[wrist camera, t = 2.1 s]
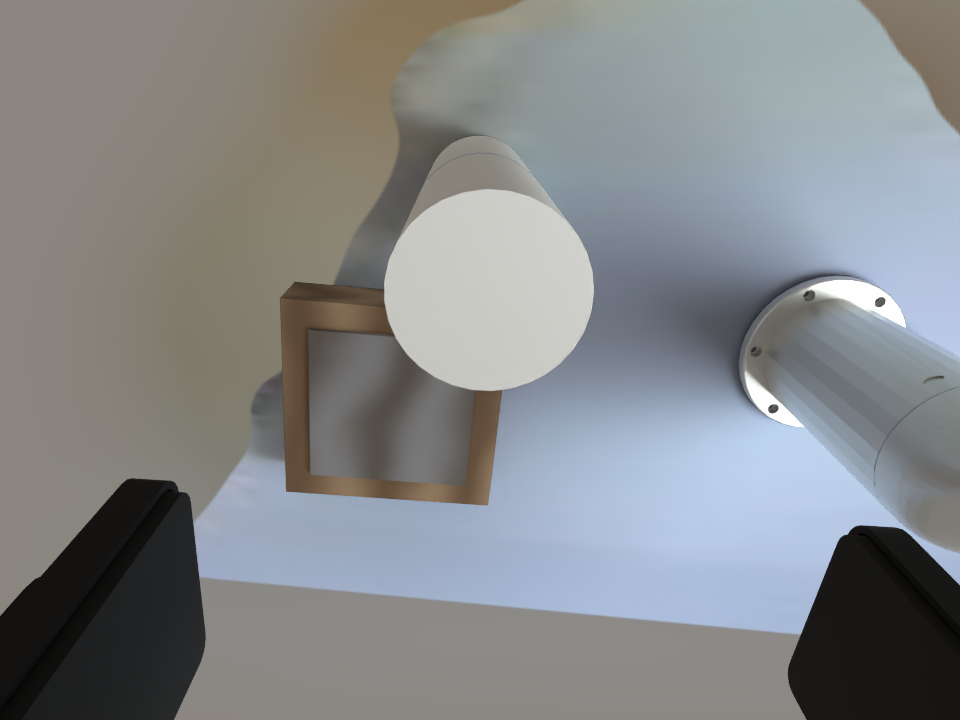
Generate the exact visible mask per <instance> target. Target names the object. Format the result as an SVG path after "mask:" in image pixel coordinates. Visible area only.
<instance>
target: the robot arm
mask: <svg viewBox="0 0 960 720" xmlns="http://www.w3.org/2000/svg"><path fill="white" fill-rule="evenodd" d="M805 292H806V293H805ZM753 347H754V348H753ZM752 348H753V349H752ZM751 349H752V350H751ZM739 374H740V379H741V383H742V386H743V389H744V391H745V392H746V394H747V396H748V397H749V399H750V400H751V401H752V403H753V404H754V405H755V406H756V407H757V408H758V409H759V410H760V411H761V412H762V413H763V414H765V415H766V416H767V417H769V418H771V419H773V420H775V421H777V422H779V423H782V424H785V425H789V426H793V427H805V428H806V429H807V430H808V431H809V432H810V433H811V434H812V435H813V436H814V437H815V438H816V439H817V440H818V441H819V442H820V443H821V444H822V445H823V446H824V447H825V448H826V449H827V450H828V451H829V452H830V453H831V454H832V455H833V456H834V457H835V458H836V459H837V460H838V461H839V462H840V463H841V464H842V465H843V466H844V467H845V468H846V469H847V470H848V471H849V472H850V473H851V474H852V475H853V476H854V477H855V478H856V479H857V480H858V481H859V482H860V483H861V484H862V485H863V486H864V487H865V488H866V489H867V490H868V491H869V492H870V493H871V494H872V495H873V496H874V497H875V498H876V499H877V501H878V502H879V503H880V504H881V505H882V506H883V507H884V508H885V509H887V510H888V511H889V512H890V513H891V514H892V515H893V516H894V517H895V518H896V519H897V520H898V521H899V522H900V523H901V524H902V525H903V526H905V527H906V528H907V529H908V530H909V531H911V532H912V533H914V534H915V535H917V536H918V537H920V538H922V539H923V540H925V541H927V542H929V543H931V544H934V545H936V546H938V547H941V548H943V549H946V550H949V551H952V552H956V553H960V357H959V356H957V355H956V354H954V353H952V352H950V351H948V350H946V349H944V348H943V347H941V346H939V345H937V344H935V343H933V342H932V341H930V340H928V339H926V338H924V337H922V336H921V335H919V334H917V333H915V332H913V331H911V330H910V329H908V328H906V324H905V319H904V316H903V314H902V312H901V310H900V308H899V306H898V305H897V303H896V302H895V301H894V300H893V298H892V297H891V296H890V295H889V294H887V293H886V292H885V291H883V290H882V289H881V288H879V287H877V286H875V285H873V284H871V283H869V282H867V281H864V280H861V279H858V278H854V277H848V276H827V277H819V278H816V279H812V280H808V281H805V282H803V283H800V284H798V285H796V286H794V287H792V288H790V289H788V290H786V291H785V292H783V293H782V294H780V295H779V296H777V297H776V298H775V299H774V300H772V301H771V302H770V303H769V304H768V305H767V306H766V307H765V308H764V309H763V310H762V311H761V312H760V314H759V315H758V316H757V317H756V319H755V320H754V321H753V322H752V324H751V326H750V328H749V330H748V332H747V333H746V335H745V338H744V341H743V344H742V347H741V350H740V357H739ZM204 648H205V625H204V617H203V607H202V598H201V590H200V581H199V572H198V563H197V554H196V545H195V536H194V527H193V518H192V509H191V501H190V497H189V495H188V494H187V493H183V492H179V491H178V487H177V485H176V484H175V483H174V482H172V481H164V480H148V479H133V478H131V479H128V480H126V481H125V482H124V483H122V484H121V486H120V487H119V488H118V489H117V490H116V491H115V492H114V493H113V495H112V496H111V497H110V498H109V499H108V500H107V501H106V503H105V504H104V505H103V506H102V507H101V508H100V509H99V511H98V512H97V513H96V514H95V515H94V516H93V518H92V519H91V520H90V521H89V522H88V523H87V524H86V525H85V527H84V528H83V529H82V530H81V531H80V532H79V534H78V535H77V536H76V537H75V538H74V539H73V540H72V541H71V543H70V544H69V545H68V546H67V547H66V549H65V550H64V551H63V552H62V553H61V554H60V555H59V556H58V557H57V559H56V560H55V561H54V562H53V563H52V565H50V567H49V568H48V569H47V570H46V571H45V572H44V573H43V575H42V576H41V577H39V578H37V579H35V580H34V581H32V582H31V583H30V584H29V585H28V586H27V587H26V588H25V589H24V590H23V591H22V592H21V593H20V594H19V596H18V597H17V598H16V599H15V600H14V601H13V602H12V603H11V604H10V606H9V607H8V608H7V609H6V610H5V611H4V612H3V614H2V615H1V616H0V720H174V718H175V716H176V714H177V712H178V709H179V708H180V705H181V703H182V701H183V699H184V697H185V695H186V693H187V690H188V688H189V686H190V684H191V682H192V680H193V677H194V675H195V673H196V671H197V669H198V667H199V664H200V662H201V659H202V656H203V652H204ZM788 680H789V685H790V688H791V691H792V693H793V695H794V697H795V699H796V701H797V703H798V704H799V706H800V708H801V710H802V712H803V714H804V715H805V717H806V719H807V720H960V585H959V584H958V583H957V582H956V581H955V580H954V579H953V578H952V577H951V576H950V575H949V574H948V573H947V572H946V571H945V570H944V569H943V568H942V567H941V566H940V565H939V564H938V563H937V562H936V561H935V560H934V559H933V558H932V557H931V556H930V555H929V554H928V553H927V552H926V551H925V550H924V549H923V548H922V547H921V546H920V545H919V544H918V543H917V542H916V541H915V540H914V539H913V538H912V537H911V536H910V535H909V534H908V533H907V532H905V531H904V530H903V529H899V528H894V527H878V526H863V525H861V526H855V527H854V528H853V529H852V530H850V532H849V534H848V535H844V536H842V537H841V538H840V539H839V541H838V543H837V545H836V548H835V551H834V553H833V556H832V558H831V561H830V563H829V566H828V568H827V571H826V573H825V576H824V578H823V581H822V583H821V586H820V588H819V591H818V593H817V596H816V598H815V601H814V603H813V606H812V608H811V611H810V613H809V616H808V618H807V621H806V623H805V626H804V628H803V631H802V633H801V636H800V639H799V641H798V644H797V646H796V649H795V651H794V654H793V656H792V659H791V661H790V664H789V668H788Z"/></svg>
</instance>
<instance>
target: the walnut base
mask: <svg viewBox="0 0 960 720" xmlns="http://www.w3.org/2000/svg"><path fill="white" fill-rule="evenodd" d="M280 311H281V342H282V374H283V406H284V437H285V468H286V492H301V493H315V494H330V495H344V496H359V497H373V498H388V499H402V500H417V501H431V502H446V503H460V504H475V505H488V500H489V492H490V484H491V476H492V468H493V459H494V451H495V443H496V435H497V427H498V419H499V411H500V402H501V394H502V390H496V391H483V390H470V389H466V388H462V387H458V386H454V385H451V384H449V383H447V382H444V381H442V380H440V379H438V378H435V377H434V376H432V375H431V374H429V373H428V372H427V371H425V370H424V369H422V368H421V367H419V366H418V365H417V364H416V363H415V362H414V361H413V360H412V359H411V358H410V357H409V356H408V355H407V354H406V352H405V351H404V349H403V348H402V346H401V345H400V344H399V342H398V341H397V339H396V337H395V335H394V333H393V330H392V328H391V326H390V323H389V321H388V316H387V312H386V307H385V302H384V290H382V289H371V288H359V287H348V286H336V285H325V284H313V283H300V282H294V284H293V285H292V286H291V287H290V288H289V289H288V290H287V291H286V293H285V294H284V295H283V296H282V297H281V298H280Z"/></svg>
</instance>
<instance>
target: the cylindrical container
mask: <svg viewBox="0 0 960 720" xmlns="http://www.w3.org/2000/svg"><path fill="white" fill-rule="evenodd" d="M593 297H594V283H593V271H592V268H591V264H590V261H589V257H588V254H587V251H586V249H585V248H584V246H583V244H582V242H581V240H580V238H579V236H578V235H577V233H576V232H575V231H574V229H573V228H572V227H571V225H570V224H569V223H568V221H567V220H566V219H565V217H564V216H563V215H562V213H561V212H560V211H559V209H558V208H557V207H556V205H555V204H554V203H553V201H552V200H551V199H550V197H549V196H548V195H547V193H546V192H545V191H544V190H543V188H542V187H541V186H540V184H539V183H538V182H537V180H536V179H535V178H534V176H533V175H532V174H531V172H530V171H529V170H528V168H527V167H526V166H525V164H524V163H523V162H522V160H521V159H520V158H519V156H518V155H517V154H516V153H515V151H514V150H512V149H511V148H510V147H509V146H508V145H507V144H505V143H503V142H501V141H499V140H497V139H494V138H491V137H487V136H471V137H465V138H462V139H460V140H457V141H455V142H454V143H452V144H450V145H449V146H447V147H446V148H445V149H444V150H443V151H442V152H441V153H440V155H439V156H438V157H437V159H436V160H435V162H434V164H433V166H432V168H431V170H430V172H429V174H428V176H427V178H426V181H425V183H424V185H423V187H422V189H421V191H420V193H419V195H418V198H417V200H416V202H415V204H414V206H413V208H412V211H411V213H410V215H409V217H408V219H407V222H406V224H405V226H404V228H403V230H402V232H401V235H400V237H399V239H398V241H397V243H396V245H395V248H394V250H393V252H392V254H391V256H390V259H389V262H388V266H387V271H386V275H385V280H384V302H385V307H386V312H387V316H388V321H389V323H390V326H391V328H392V330H393V333H394V335H395V337H396V339H397V341H398V342H399V344H400V345H401V346H402V348H403V349H404V351H405V352H406V354H407V355H408V356H409V357H410V358H411V359H412V360H413V361H414V362H415V363H416V364H417V365H418V366H419V367H421V368H422V369H424V370H425V371H427V372H428V373H429V374H431V375H432V376H434V377H435V378H438V379H440V380H442V381H444V382H447V383H449V384H451V385H454V386H458V387H462V388H466V389H470V390H483V391H496V390H503V389H511V388H515V387H518V386H521V385H524V384H527V383H530V382H532V381H534V380H536V379H538V378H540V377H542V376H544V375H546V374H547V373H548V372H550V371H551V370H552V369H554V368H555V367H556V366H558V365H559V364H560V363H561V362H562V361H563V360H564V359H565V358H566V357H567V356H568V355H569V354H570V353H571V351H572V350H573V349H574V348H575V346H576V344H577V343H578V341H579V340H580V338H581V336H582V335H583V333H584V331H585V328H586V326H587V323H588V320H589V317H590V315H591V311H592V304H593Z"/></svg>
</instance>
